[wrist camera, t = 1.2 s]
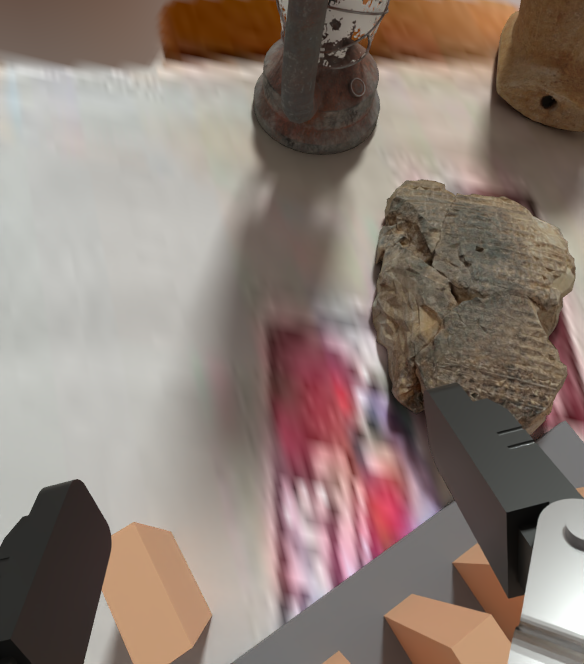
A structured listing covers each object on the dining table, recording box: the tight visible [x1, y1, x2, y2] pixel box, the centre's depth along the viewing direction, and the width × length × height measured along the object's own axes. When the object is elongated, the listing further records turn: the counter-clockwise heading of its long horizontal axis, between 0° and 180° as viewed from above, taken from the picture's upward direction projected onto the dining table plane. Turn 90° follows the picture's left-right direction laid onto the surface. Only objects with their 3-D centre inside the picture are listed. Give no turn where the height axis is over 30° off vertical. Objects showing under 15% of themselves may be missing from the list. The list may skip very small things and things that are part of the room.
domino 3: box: [452, 543, 525, 643], centre depth 23 cm, size 2×5×10 cm, turn 32°
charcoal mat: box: [231, 421, 584, 664], centre depth 27 cm, size 29×10×1 cm, turn 122°
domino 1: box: [102, 522, 212, 664], centre depth 23 cm, size 2×5×10 cm, turn 32°
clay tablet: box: [372, 179, 576, 435], centre depth 34 cm, size 14×5×20 cm
